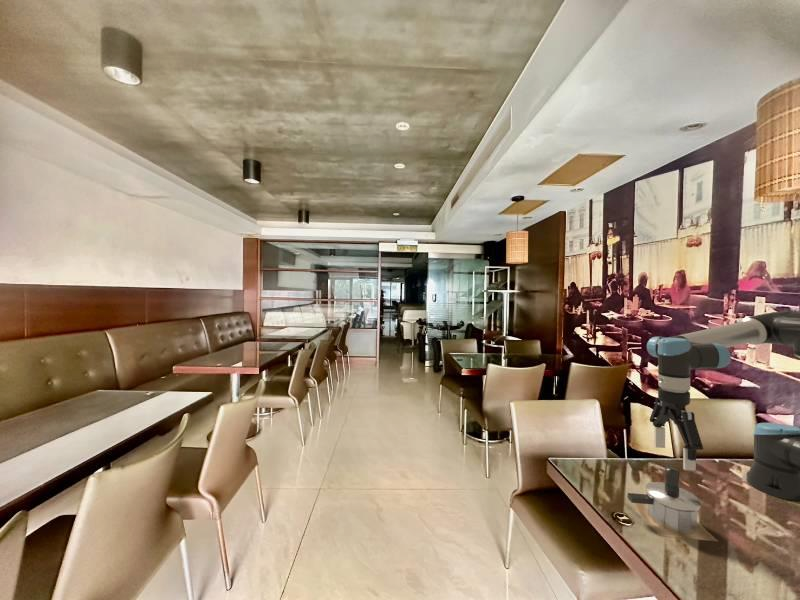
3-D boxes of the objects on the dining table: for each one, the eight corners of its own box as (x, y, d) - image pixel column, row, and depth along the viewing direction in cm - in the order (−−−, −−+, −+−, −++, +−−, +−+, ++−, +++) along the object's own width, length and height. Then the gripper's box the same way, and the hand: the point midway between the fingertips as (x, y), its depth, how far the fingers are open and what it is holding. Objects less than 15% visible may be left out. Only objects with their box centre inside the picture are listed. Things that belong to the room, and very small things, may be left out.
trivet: (681, 508, 108) (681, 506, 108) (718, 543, 93) (718, 541, 93) (631, 504, 110) (631, 502, 110) (659, 537, 95) (659, 535, 95)
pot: (679, 509, 107) (679, 488, 106) (706, 536, 95) (707, 512, 95) (620, 504, 109) (620, 483, 109) (639, 529, 98) (640, 506, 98)
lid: (680, 487, 107) (681, 460, 107) (712, 514, 94) (712, 483, 94) (636, 483, 109) (637, 457, 109) (661, 509, 96) (662, 479, 96)
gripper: (637, 377, 113) (637, 438, 114) (689, 402, 89) (688, 480, 89) (661, 378, 112) (661, 439, 113) (720, 403, 88) (720, 482, 88)
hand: (673, 457), depth 101 cm, fingers open, 13 cm apart
